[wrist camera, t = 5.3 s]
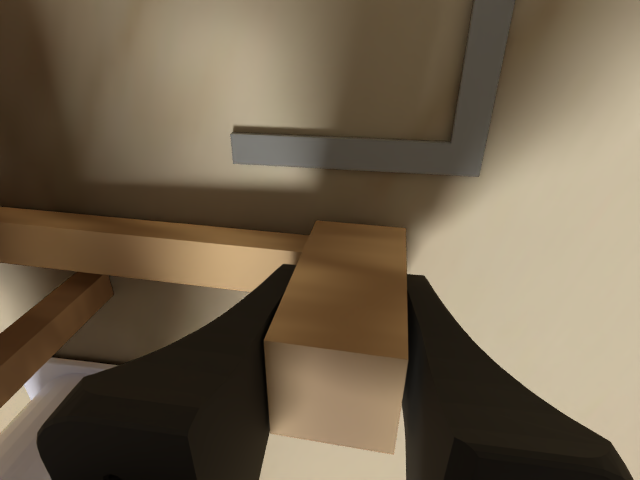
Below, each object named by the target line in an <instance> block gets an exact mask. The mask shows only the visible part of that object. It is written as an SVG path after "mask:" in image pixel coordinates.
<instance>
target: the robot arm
mask: <svg viewBox="0 0 640 480" xmlns="http://www.w3.org/2000/svg"><path fill="white" fill-rule="evenodd" d="M295 267H296V265H292V264H282V265H281V266H280V267H279V268H278V269H276V270H275V271H274V272H273V273H272V274H271V275H270V276H269V277H268V278H267V279H266V280H264V281H263V282H262V283H261V284H260V285H259V286H258V287H257V288H255V289H254V290H253V291H252V292H251V293H250V294H248V295H247V296H246V297H245V298H244V299H242V300H241V301H240V302H239V303H237V304H236V305H235V306H233V307H232V308H231V309H229V310H228V311H227V312H225V313H224V314H223V315H221V316H220V317H218V318H217V319H215V320H214V321H212V322H210V323H209V324H207V325H205V326H204V327H202V328H201V329H199V330H197V331H195V332H193V333H191V334H190V335H188V336H186V337H184V338H182V339H180V340H178V341H176V342H174V343H172V344H170V345H168V346H166V347H164V348H162V349H159V350H157V351H155V352H152V353H150V354H148V355H145V356H143V357H140V358H138V359H135V360H133V361H130V362H127V363H125V364H122V365H111V364H103V363H95V362H86V361H78V360H69V359H61V358H52V357H51V358H50V359H49V360H48V361H47V362H46V363H45V364H44V365H43V366H42V367H41V368H40V369H39V370H38V371H37V372H36V373H35V374H34V375H33V376H32V377H31V378H30V379H29V380H28V381H27V382H26V383H25V384H24V387H25V389H26V391H27V393H28V395H29V397H30V399H31V401H30V402H29V403H28V404H27V405H26V406H25V407H24V409H23V410H22V411H21V412H20V413H19V414H18V415H17V416H16V417H15V418H14V419H13V420H12V421H11V422H10V423H9V425H8V426H7V427H6V428H5V429H4V430H3V431H2V432H1V433H0V480H259V477H260V472H261V468H262V463H263V459H264V454H265V450H266V445H267V441H268V437H269V432H270V422H269V408H268V394H267V380H266V367H265V353H264V338H265V336H266V334H267V332H268V329H269V327H270V325H271V322H272V320H273V318H274V315H275V313H276V311H277V309H278V306H279V304H280V302H281V299H282V297H283V295H284V293H285V290H286V288H287V286H288V283H289V281H290V279H291V277H292V274H293V272H294V270H295ZM407 313H408V366H407V372H406V379H405V385H404V392H403V398H402V409H403V417H404V426H405V440H406V480H633V478H632V476H631V474H630V472H629V470H628V469H627V467H626V465H625V463H624V462H623V460H622V459H621V457H620V456H619V454H618V453H617V451H616V450H615V448H614V446H613V445H612V443H611V442H610V441H608V440H607V439H605V438H603V437H602V436H600V435H598V434H597V433H595V432H593V431H592V430H590V429H588V428H586V427H585V426H583V425H581V424H580V423H578V422H576V421H575V420H573V419H571V418H570V417H568V416H566V415H565V414H563V413H562V412H560V411H559V410H557V409H556V408H554V407H553V406H551V405H550V404H548V403H547V402H545V401H544V400H543V399H541V398H540V397H538V396H537V395H535V394H534V393H533V392H531V391H530V390H529V389H527V388H526V387H525V386H523V385H522V384H521V383H520V382H518V381H517V380H516V379H515V378H513V377H512V376H511V375H510V374H508V373H507V372H506V371H505V370H504V369H502V368H501V367H500V366H499V365H498V364H497V363H496V362H494V361H493V360H492V359H491V358H490V357H489V356H488V355H487V354H486V353H485V352H484V351H483V350H482V349H481V348H480V347H479V346H478V345H477V344H476V343H475V342H474V341H473V340H472V339H471V338H470V337H469V335H468V334H467V333H466V332H465V331H464V330H463V329H462V327H461V326H460V325H459V324H458V323H457V321H456V320H455V319H454V317H453V316H452V315H451V313H450V312H449V311H448V310H447V308H446V307H445V306H444V304H443V303H442V301H441V300H440V298H439V297H438V296H437V294H436V293H435V291H434V290H433V288H432V286H431V285H430V283H429V282H428V280H427V279H426V277H425V276H423V275H411V274H407Z"/></svg>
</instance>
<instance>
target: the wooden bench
mask: <svg viewBox="0 0 640 480" xmlns="http://www.w3.org/2000/svg"><path fill="white" fill-rule="evenodd" d="M113 295H114V293H113V290H112V286H111V283H110V279H109V276H108V275H102V274H94V273H85V272H76V273H75V274H74V275H72V276H71V277H70V278H69V279H67V280H66V281H65V282H64V283H62V284H61V285H60V286H59V287H57V288H56V289H55V290H54V291H53V292H51V293H50V294H49V295H48V296H46V297H45V298H44V299H43V300H41V301H40V302H39V303H38V304H36V305H35V306H34V307H33V308H31V309H30V310H29V311H28V312H26V313H25V314H24V315H23V316H21V317H20V318H19V319H18V320H17V321H15V322H14V323H13V324H12V325H10V326H9V327H8V328H7V329H5V330H4V331H3V332H2V333H0V408H1V407H2V406H3V405H4V404H5V403H6V402H7V401H8V400H9V399H10V398H11V397H12V396H13V395H14V394H15V393H16V392H17V391H18V390H19V389H20V388H21V387H22V386H23V385H24V384H25V383H26V382H27V381H28V380H29V379H30V378H31V377H32V376H33V375H34V374H35V373H36V372H37V371H38V370H39V369H40V368H41V367H42V366H43V365H44V364H45V363H46V362H47V361H48V360H49V359H50V358H51V357H52V356H53V355H54V354H55V353H56V352H57V351H58V350H59V349H60V348H61V347H62V346H63V345H64V344H65V343H66V342H67V341H68V340H69V339H70V338H71V337H72V336H73V335H74V334H75V333H76V332H77V331H78V330H79V329H80V328H81V327H82V326H83V325H84V324H85V323H86V322H87V321H88V320H89V319H90V318H91V317H92V316H93V315H94V314H95V313H96V312H97V311H98V310H99V309H100V308H101V307H102V306H103V305H104V304H105V303H106V302H107V301H108V300H109V299H110V298H111V297H112V296H113Z"/></svg>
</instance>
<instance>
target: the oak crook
mask: <svg viewBox="0 0 640 480" xmlns="http://www.w3.org/2000/svg"><path fill="white" fill-rule="evenodd" d="M0 263H8V264H17V265H25V266H34V267H42V268H51V269H60V270H68V271H77V272H85V273H94V274H102V275H111V276H119V277H128V278H137V279H145V280H154V281H162V282H171V283H179V284H188V285H197V286H205V287H214V288H222V289H231V290H239V291H248V292H252V291H253V290H254V289H255V288H257V287H258V286H259V285H260V284H261V283H262V282H263V281H264V280H266V279H267V278H268V277H269V276H270V275H271V274H272V273H273V272H274V271H275V270H276V269H278V268H279V267H280V266H281V265H282V264H292V265H296V267H295V270H294V272H293V274H292V277H291V279H290V281H289V283H288V286H287V288H286V290H285V293H284V295H283V297H282V299H281V302H280V304H279V306H278V309H277V311H276V313H275V315H274V318H273V320H272V322H271V325H270V327H269V329H268V332H267V334H266V336H265V338H264V353H265V367H266V380H267V394H268V408H269V422H270V434H276V435H281V436H287V437H293V438H299V439H305V440H311V441H317V442H323V443H328V444H334V445H340V446H346V447H352V448H358V449H364V450H370V451H375V452H381V453H387V454H393V455H394V450H395V443H396V437H397V430H398V424H399V418H400V411H401V405H402V398H403V392H404V385H405V379H406V372H407V366H408V313H407V261H406V228H398V227H386V226H375V225H363V224H352V223H340V222H329V221H317V220H316V222H315V224H314V226H313V229H312V231H311V233H310V235H299V234H289V233H278V232H267V231H256V230H246V229H235V228H224V227H213V226H203V225H192V224H181V223H170V222H160V221H149V220H138V219H127V218H117V217H106V216H95V215H84V214H73V213H63V212H52V211H41V210H30V209H20V208H9V207H0Z"/></svg>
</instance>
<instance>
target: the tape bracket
mask: <svg viewBox="0 0 640 480" xmlns="http://www.w3.org/2000/svg"><path fill="white" fill-rule="evenodd" d="M514 4H515V0H474V1H473V7H472V13H471V20H470V26H469V32H468V38H467V44H466V50H465V57H464V63H463V69H462V75H461V81H460V87H459V94H458V100H457V106H456V112H455V118H454V124H453V131H452V137H451V142H440V141H417V140H394V139H371V138H348V137H325V136H303V135H280V134H257V133H234V132H232V133H231V134H230V136H231V146H232V157H233V164H248V165H267V166H286V167H305V168H324V169H342V170H361V171H380V172H399V173H418V174H437V175H455V176H474V177H479V175H480V170H481V166H482V161H483V156H484V151H485V146H486V141H487V136H488V131H489V126H490V121H491V117H492V112H493V107H494V102H495V97H496V92H497V87H498V82H499V77H500V72H501V67H502V63H503V58H504V53H505V48H506V43H507V38H508V33H509V28H510V23H511V18H512V14H513V9H514Z"/></svg>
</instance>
